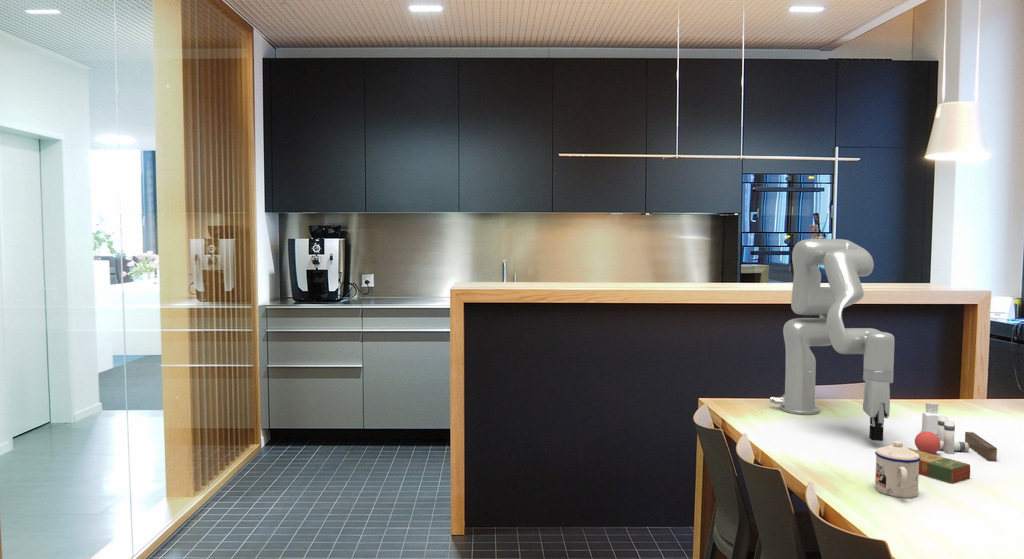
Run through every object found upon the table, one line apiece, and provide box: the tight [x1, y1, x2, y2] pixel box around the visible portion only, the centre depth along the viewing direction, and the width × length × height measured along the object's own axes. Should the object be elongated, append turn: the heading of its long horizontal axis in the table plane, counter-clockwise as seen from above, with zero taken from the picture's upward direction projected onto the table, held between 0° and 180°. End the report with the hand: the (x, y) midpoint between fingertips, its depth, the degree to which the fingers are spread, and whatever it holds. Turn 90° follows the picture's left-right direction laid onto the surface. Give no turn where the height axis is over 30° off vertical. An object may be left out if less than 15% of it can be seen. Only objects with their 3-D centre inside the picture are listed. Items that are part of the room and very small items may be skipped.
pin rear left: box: [937, 415, 949, 441], centre depth 195 cm, size 2×2×8 cm
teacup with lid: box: [874, 440, 920, 499], centre depth 159 cm, size 12×9×12 cm
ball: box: [914, 431, 940, 455], centre depth 189 cm, size 6×6×6 cm
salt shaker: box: [921, 401, 941, 435], centre depth 209 cm, size 4×4×10 cm
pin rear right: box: [942, 420, 956, 455], centre depth 190 cm, size 2×2×8 cm
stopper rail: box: [964, 431, 998, 462], centre depth 191 cm, size 2×16×4 cm, turn 166°
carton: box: [907, 447, 971, 485], centre depth 174 cm, size 8×16×4 cm, turn 29°
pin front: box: [938, 441, 970, 452], centre depth 192 cm, size 2×2×8 cm
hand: (876, 439), depth 197 cm, fingers closed
